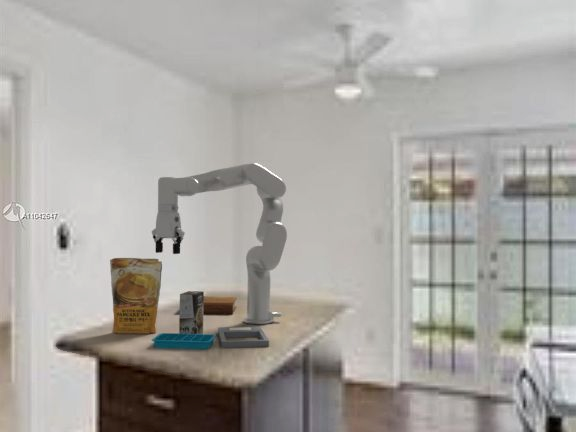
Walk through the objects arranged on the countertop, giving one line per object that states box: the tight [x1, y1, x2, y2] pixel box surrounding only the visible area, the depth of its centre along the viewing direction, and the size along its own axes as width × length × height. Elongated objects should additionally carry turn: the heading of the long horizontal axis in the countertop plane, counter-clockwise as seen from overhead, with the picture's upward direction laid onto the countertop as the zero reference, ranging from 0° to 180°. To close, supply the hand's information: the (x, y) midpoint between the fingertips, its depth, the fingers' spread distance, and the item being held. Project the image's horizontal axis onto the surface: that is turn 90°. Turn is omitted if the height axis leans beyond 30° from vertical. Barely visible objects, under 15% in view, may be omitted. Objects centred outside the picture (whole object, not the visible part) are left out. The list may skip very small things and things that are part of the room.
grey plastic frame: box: [217, 326, 270, 349], centre depth 211 cm, size 16×24×2 cm, turn 10°
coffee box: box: [178, 290, 205, 334], centre depth 215 cm, size 9×6×16 cm
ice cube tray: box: [151, 332, 217, 350], centre depth 201 cm, size 12×20×3 cm, turn 86°
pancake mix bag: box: [109, 257, 163, 335], centre depth 221 cm, size 7×19×28 cm, turn 91°
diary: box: [203, 295, 237, 315], centre depth 270 cm, size 23×19×6 cm
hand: (167, 253), depth 227 cm, fingers open, 9 cm apart
